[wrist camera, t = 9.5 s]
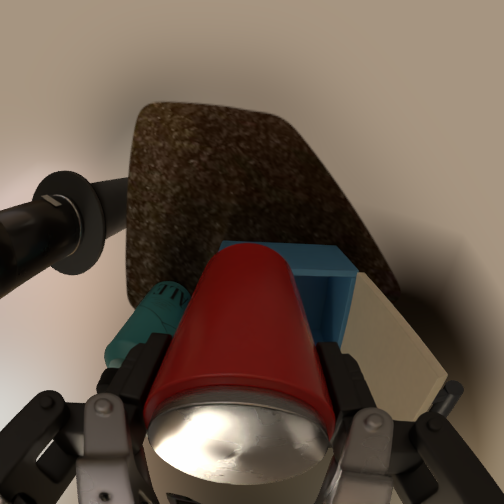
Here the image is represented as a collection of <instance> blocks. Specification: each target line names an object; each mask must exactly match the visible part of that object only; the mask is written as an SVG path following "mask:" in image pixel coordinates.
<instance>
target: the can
mask: <svg viewBox="0 0 504 504" xmlns="http://www.w3.org/2000/svg"><path fill="white" fill-rule="evenodd" d="M143 419H144V423H145V426H146V428H147V435H148V440H149V443H150V445H151V446H152V448H153V449H154V451H155V452H156V453H157V454H158V455H159V456H160V457H161V458H162V459H163V460H165V461H166V462H167V463H169V464H170V465H172V466H173V467H175V468H177V469H179V470H181V471H183V472H185V473H188V474H190V475H193V476H196V477H199V478H202V479H205V480H209V481H214V482H219V483H227V484H238V485H253V484H265V483H271V482H277V481H281V480H285V479H288V478H292V477H294V476H297V475H299V474H301V473H303V472H305V471H307V470H309V469H310V468H312V467H313V466H315V465H316V464H317V463H318V462H319V461H320V460H321V459H322V458H323V457H324V456H325V454H326V452H327V450H328V447H329V441H330V440H331V438H332V436H333V434H334V431H335V426H336V419H335V414H334V410H333V406H332V403H331V399H330V395H329V392H328V388H327V385H326V381H325V378H324V374H323V370H322V367H321V364H320V360H319V357H318V353H317V350H316V346H315V343H314V340H313V336H312V333H311V330H310V326H309V323H308V320H307V317H306V313H305V310H304V307H303V304H302V300H301V297H300V294H299V291H298V288H297V285H296V282H295V278H294V275H293V272H292V270H291V268H290V266H289V264H288V263H287V262H286V260H285V259H284V258H283V257H282V256H281V255H280V254H279V253H277V252H276V251H274V250H273V249H271V248H269V247H266V246H264V245H260V244H256V243H239V244H235V245H231V246H228V247H226V248H224V249H222V250H221V251H219V252H218V253H217V254H215V255H214V256H213V257H212V258H211V259H210V261H209V262H208V264H207V265H206V267H205V269H204V271H203V273H202V275H201V277H200V280H199V282H198V284H197V286H196V288H195V290H194V292H193V295H192V297H191V299H190V301H189V303H188V305H187V308H186V310H185V312H184V314H183V316H182V318H181V321H180V323H179V325H178V327H177V330H176V332H175V334H174V336H173V339H172V341H171V343H170V345H169V348H168V350H167V352H166V354H165V357H164V359H163V361H162V364H161V366H160V368H159V371H158V373H157V375H156V378H155V380H154V383H153V385H152V387H151V390H150V392H149V395H148V397H147V399H146V402H145V404H144V409H143Z"/></svg>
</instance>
